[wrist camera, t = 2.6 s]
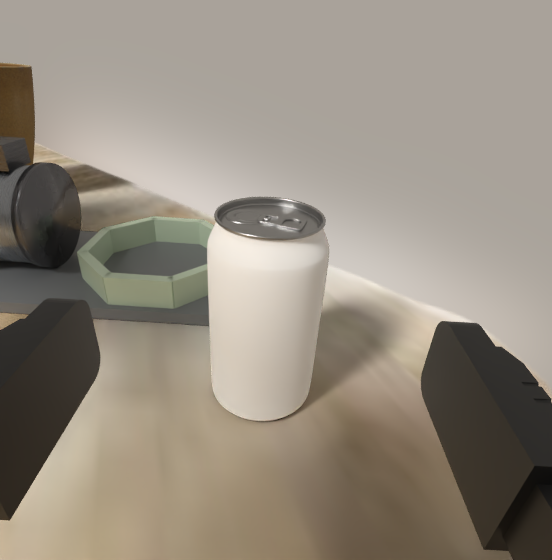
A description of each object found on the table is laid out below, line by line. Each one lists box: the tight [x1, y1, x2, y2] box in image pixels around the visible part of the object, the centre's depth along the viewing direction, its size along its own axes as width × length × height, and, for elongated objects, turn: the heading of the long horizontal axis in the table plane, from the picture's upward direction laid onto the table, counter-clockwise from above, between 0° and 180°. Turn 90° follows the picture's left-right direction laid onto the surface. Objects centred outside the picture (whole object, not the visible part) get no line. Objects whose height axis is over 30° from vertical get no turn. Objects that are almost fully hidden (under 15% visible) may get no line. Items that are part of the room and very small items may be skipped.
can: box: [207, 197, 329, 421], centre depth 23 cm, size 6×6×12 cm
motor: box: [0, 136, 81, 268], centre depth 33 cm, size 7×9×11 cm
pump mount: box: [0, 216, 214, 326], centre depth 36 cm, size 24×14×4 cm, turn 88°
